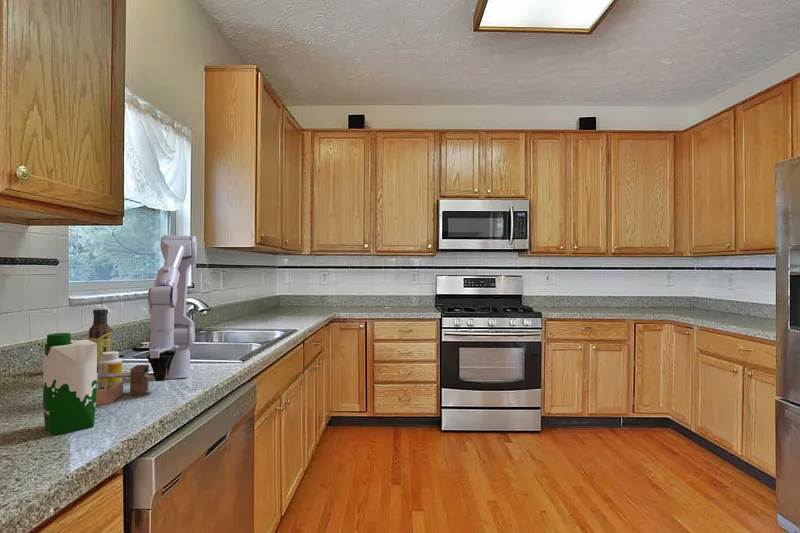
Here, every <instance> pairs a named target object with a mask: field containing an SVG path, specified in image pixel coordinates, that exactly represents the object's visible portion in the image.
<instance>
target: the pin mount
mask: <svg viewBox="0 0 800 533" xmlns="http://www.w3.org/2000/svg"><path fill="white" fill-rule="evenodd" d="M149 368H150V364H136V365H135V366H133V367H132V368H130V370H129V371H130V378H129V379H130V380H129V381H130V382H129V383H130V384H129V397H136V396H137V397H138V396H139V397H140V396H141V397H142V396H144V395H145V394H146V393H147V392H148V391H149V390H150V388H149V383H150V382H149V380H150V377H145V372H150V369H149Z"/></svg>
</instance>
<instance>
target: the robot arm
mask: <svg viewBox="0 0 800 533" xmlns="http://www.w3.org/2000/svg"><path fill="white" fill-rule="evenodd" d="M159 244H160V252H161V255H162V257H163V260H164V263H163V266H162V267H160V268H159V269H158V270H157V273H156V278H155V280H154V284H153V286H152V287H149V288H148V291H147V304H148V305H147V306H148V313H149V314H150V327H149V328H150V329H149V331H150V333H149V337H150V338H149V346H148V347H149V348H148V349H149V354H148V355H147V357H146V359H147V361H148V362H149V365H150V367H151V369H152V371H153V373H154V381H155V382H165V380H169V379H187V378H189V377H190V375H192V373H193V372H194V370H193V369H191V350H190V347H192V346H193V345H194V344H195V341H196V340H195V338H196V330H195V329H196V328H195V325H196V324H195V321H194V320H192V318H190V317H188V316H187V302H188V300H187V299H188V283H189V272H190V271H189V270H190V267H191V265H193V264H195V263H197V262H196V261H197V257H198V256H197V255H198V238H197V236H195V235H176V234H175V235H172V234H171V235H170V234H169V235H168V234H163V235H162V236H161V238H160V243H159ZM167 368H168V375H167V378H166V379H165V377H166V371H167Z"/></svg>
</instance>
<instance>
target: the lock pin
mask: <svg viewBox="0 0 800 533" xmlns="http://www.w3.org/2000/svg"><path fill="white" fill-rule="evenodd" d="M167 375H168V368H167V371H166V377H165V380H167V379H166V378H167ZM145 377H149V378H153V377H154V373H153V370H152V371H149V372H145ZM107 378H122V379H124V378H125V379H126V378H127V379H128V378H129V379H130V372H129V371H128V372H122V373H99V374H98V373H97V380H98V379H107Z"/></svg>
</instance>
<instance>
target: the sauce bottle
mask: <svg viewBox="0 0 800 533" xmlns="http://www.w3.org/2000/svg"><path fill="white" fill-rule="evenodd" d="M92 313H93V321H92V322H93V323H92V325H91V326H90V328H89V330H88V339H87V340H89V341H92V342H94V343H97V372H98V362H99V361H100V360H102V353H104V352H110V351H112V331H111V330H112V329H111V328H110V325H109V324H108V314H109V309H108V308H94V309H93V310H92Z"/></svg>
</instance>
